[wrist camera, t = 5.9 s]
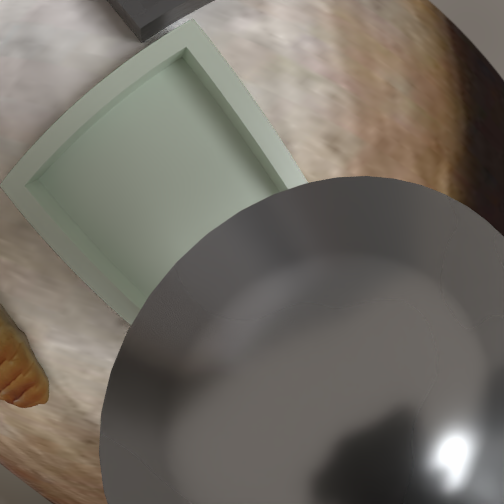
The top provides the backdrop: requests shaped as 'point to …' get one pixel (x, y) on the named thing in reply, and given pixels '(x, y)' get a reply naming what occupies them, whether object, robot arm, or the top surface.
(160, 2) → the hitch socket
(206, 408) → the pin
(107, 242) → the tray
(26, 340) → the pastry
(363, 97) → the top surface
